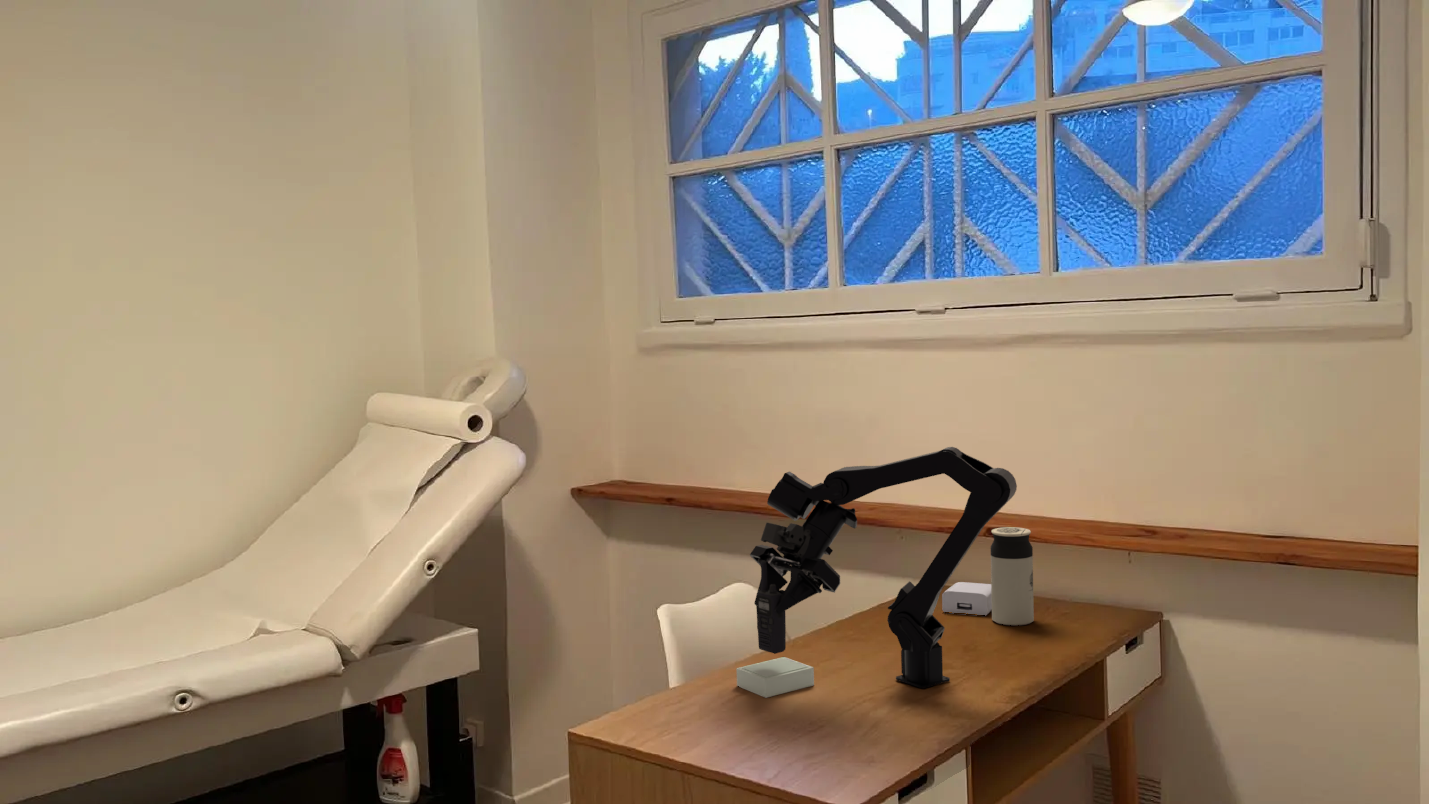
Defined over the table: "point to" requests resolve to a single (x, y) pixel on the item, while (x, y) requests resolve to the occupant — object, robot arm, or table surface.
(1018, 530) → the travel mug
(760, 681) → the sage tile
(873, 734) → the table surface
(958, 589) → the charger
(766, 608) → the two-way radio
